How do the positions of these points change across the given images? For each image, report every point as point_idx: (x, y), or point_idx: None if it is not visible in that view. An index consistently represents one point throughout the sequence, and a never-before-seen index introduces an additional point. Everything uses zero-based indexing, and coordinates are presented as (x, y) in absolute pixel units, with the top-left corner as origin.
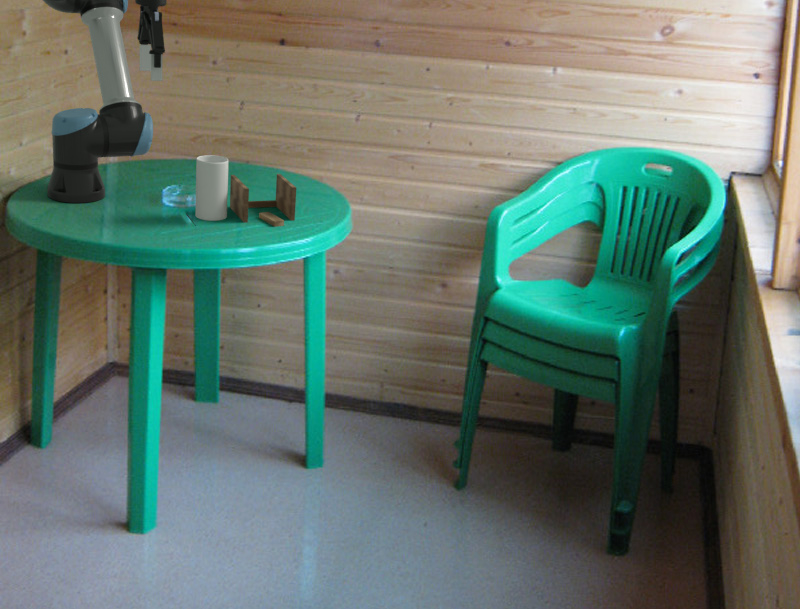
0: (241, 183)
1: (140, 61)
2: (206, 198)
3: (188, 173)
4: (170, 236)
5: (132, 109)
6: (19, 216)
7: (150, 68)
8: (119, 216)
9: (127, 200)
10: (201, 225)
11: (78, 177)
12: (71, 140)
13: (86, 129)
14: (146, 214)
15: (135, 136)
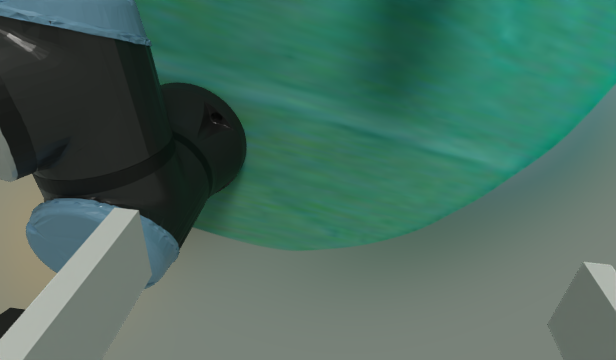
0: None
1: (115, 332)
2: None
3: None
4: (542, 26)
5: (24, 86)
6: (311, 248)
7: (127, 224)
8: (352, 95)
9: (231, 43)
10: None
11: (220, 171)
12: (186, 236)
13: (166, 222)
14: (353, 31)
15: (137, 62)
